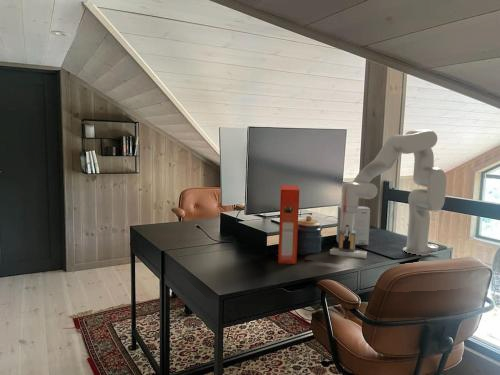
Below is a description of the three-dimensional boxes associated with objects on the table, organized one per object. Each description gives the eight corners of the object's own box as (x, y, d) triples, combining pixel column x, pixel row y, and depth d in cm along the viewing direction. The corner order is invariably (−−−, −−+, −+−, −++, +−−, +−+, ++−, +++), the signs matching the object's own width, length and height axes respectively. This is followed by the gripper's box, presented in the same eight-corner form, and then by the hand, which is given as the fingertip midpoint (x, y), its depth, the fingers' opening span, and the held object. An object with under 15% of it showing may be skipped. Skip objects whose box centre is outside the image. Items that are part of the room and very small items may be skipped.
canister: (320, 257, 180) (322, 219, 178) (291, 254, 183) (293, 217, 181) (321, 249, 192) (323, 214, 190) (295, 247, 195) (297, 212, 193)
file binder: (277, 263, 169) (280, 189, 166) (277, 251, 186) (280, 184, 183) (296, 264, 169) (300, 190, 165) (294, 252, 186) (298, 185, 182)
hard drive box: (365, 244, 207) (368, 206, 204) (368, 248, 199) (371, 209, 197) (335, 242, 208) (338, 205, 206) (337, 246, 200) (339, 207, 198)
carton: (339, 247, 187) (340, 229, 185) (354, 249, 184) (356, 230, 183) (338, 250, 181) (339, 231, 180) (353, 252, 179) (355, 233, 178)
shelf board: (366, 254, 187) (367, 247, 186) (365, 261, 176) (366, 254, 175) (332, 250, 192) (333, 243, 191) (329, 257, 180) (330, 249, 180)
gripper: (342, 205, 190) (340, 242, 192) (339, 211, 174) (336, 251, 176) (358, 207, 187) (356, 244, 190) (356, 212, 171) (353, 253, 173)
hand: (346, 247), depth 183 cm, fingers closed on carton, 5 cm apart
